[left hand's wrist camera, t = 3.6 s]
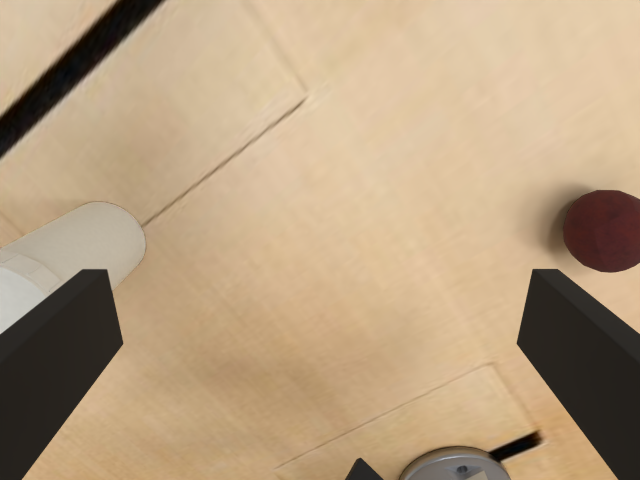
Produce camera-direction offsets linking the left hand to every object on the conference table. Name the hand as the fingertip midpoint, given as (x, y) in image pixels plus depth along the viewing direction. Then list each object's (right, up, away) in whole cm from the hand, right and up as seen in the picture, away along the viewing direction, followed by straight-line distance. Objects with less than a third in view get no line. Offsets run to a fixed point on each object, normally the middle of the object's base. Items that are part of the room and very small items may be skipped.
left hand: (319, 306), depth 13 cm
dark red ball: (+27, +4, +28) cm, 39 cm away
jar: (-22, +2, +29) cm, 37 cm away
